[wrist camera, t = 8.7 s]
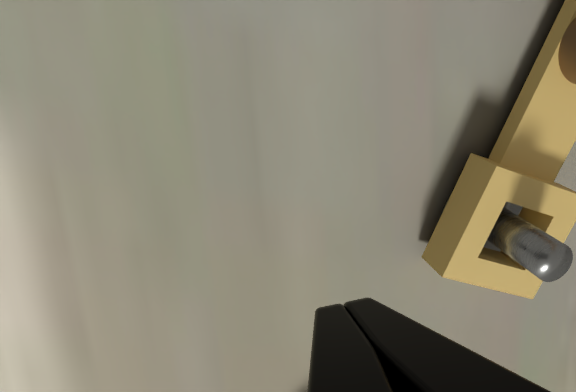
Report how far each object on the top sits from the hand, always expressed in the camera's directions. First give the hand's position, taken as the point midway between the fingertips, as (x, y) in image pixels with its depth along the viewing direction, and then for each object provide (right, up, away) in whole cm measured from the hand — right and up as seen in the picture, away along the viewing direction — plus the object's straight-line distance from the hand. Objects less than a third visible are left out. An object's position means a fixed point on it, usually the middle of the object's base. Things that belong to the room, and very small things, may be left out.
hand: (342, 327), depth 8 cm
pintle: (+8, +1, +16) cm, 18 cm away
